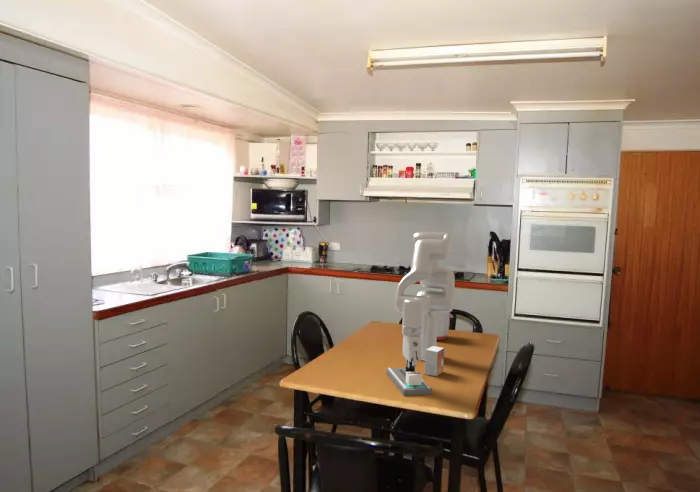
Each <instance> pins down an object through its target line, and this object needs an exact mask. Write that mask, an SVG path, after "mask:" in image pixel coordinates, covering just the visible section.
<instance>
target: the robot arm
mask: <svg viewBox="0 0 700 492" xmlns="http://www.w3.org/2000/svg"><path fill="white" fill-rule="evenodd" d="M412 242H413V245H414V246H413V252H412V257H411V263H410V264H411V267H410V270H409V272H408V273H406V274H405V275H404V276H403V277H402V279H401V280H400V281H399V282H398V285H397V287H396V292H395V298H394V309H395V311H396V312H398V313H401V314H402V322H401V323H402V327H401V334H402V336H403V338H402V356H403V357H404V358H405V368H406V372H416V371H415V369H416V366H417V361H418V362H419V363H420V362H421V361H424V362H425V350H426V349H428V348H430V347H432V346H436V347H437V341H438V340H437V319H436V317H435V315H434V314H433V312H450V313H451V312H453V309H454V306H455V283H456V280H455V279H456V278H455V277H456V276H455V273H454V271H453V270H452V269H451V268H446V267H445V268H443V267H439V262H440V261H441V260H443V261H444V260H446V259H448V257H449V255H450V252H451V250H452V248H453V235H452V234H451V233H449V232H443V231H442V232H441V231H439V232H437V231H417V232H415V233H414V234H413V235H412ZM439 260H440V261H439ZM418 282H419V283H420V286H421V287H423V288H427V289H423V290H419V291H418V292H416V295H415V294H405V291H406V289H407V288H408V287H410V286H411V285H413V284H415V283H418ZM430 289H436V290H430ZM437 289H439V290H437ZM441 290H443V291H441ZM446 354H447V349H444V355H446ZM405 376H406V374H405Z"/></svg>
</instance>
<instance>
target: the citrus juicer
mask: <svg viewBox="0 0 700 492" xmlns="http://www.w3.org/2000/svg"><path fill="white" fill-rule="evenodd" d="M433 314H434V315H435V317H436V319H437V341H444V340H445V339H446V338H447V335H448V332H449V328H450V319H453V318H454V316H453V314H452V313H451V312H433Z"/></svg>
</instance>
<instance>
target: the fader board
mask: <svg viewBox="0 0 700 492" xmlns="http://www.w3.org/2000/svg"><path fill="white" fill-rule="evenodd" d="M385 372H386V373H385V374H386V375H387V376H388V378H389V379H390V380H391V382H392V383H393V384H394V385H395V387H396V388H397V389H398V391H400V394H402V395H403V396H423V395H424V396H425V395H433V388H432V387H431V386H430V385H429V384H428V383H427V382H426V381H425V379H423V378H422V382H421V385H413V386H409V385H408V384H407V383H406V376H405V374H406V367H395V368H392V367H388V368H386V369H385Z"/></svg>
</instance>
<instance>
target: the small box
mask: <svg viewBox="0 0 700 492" xmlns="http://www.w3.org/2000/svg"><path fill="white" fill-rule="evenodd" d="M444 350H445V347H441V346H437V345H436V346H432V347H430V348H428V349H426V350H425V361H424V375H429V376H432V377H438V376H439V375H440V374H442V373H444V362H445V361H444V359H445V354H444Z"/></svg>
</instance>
